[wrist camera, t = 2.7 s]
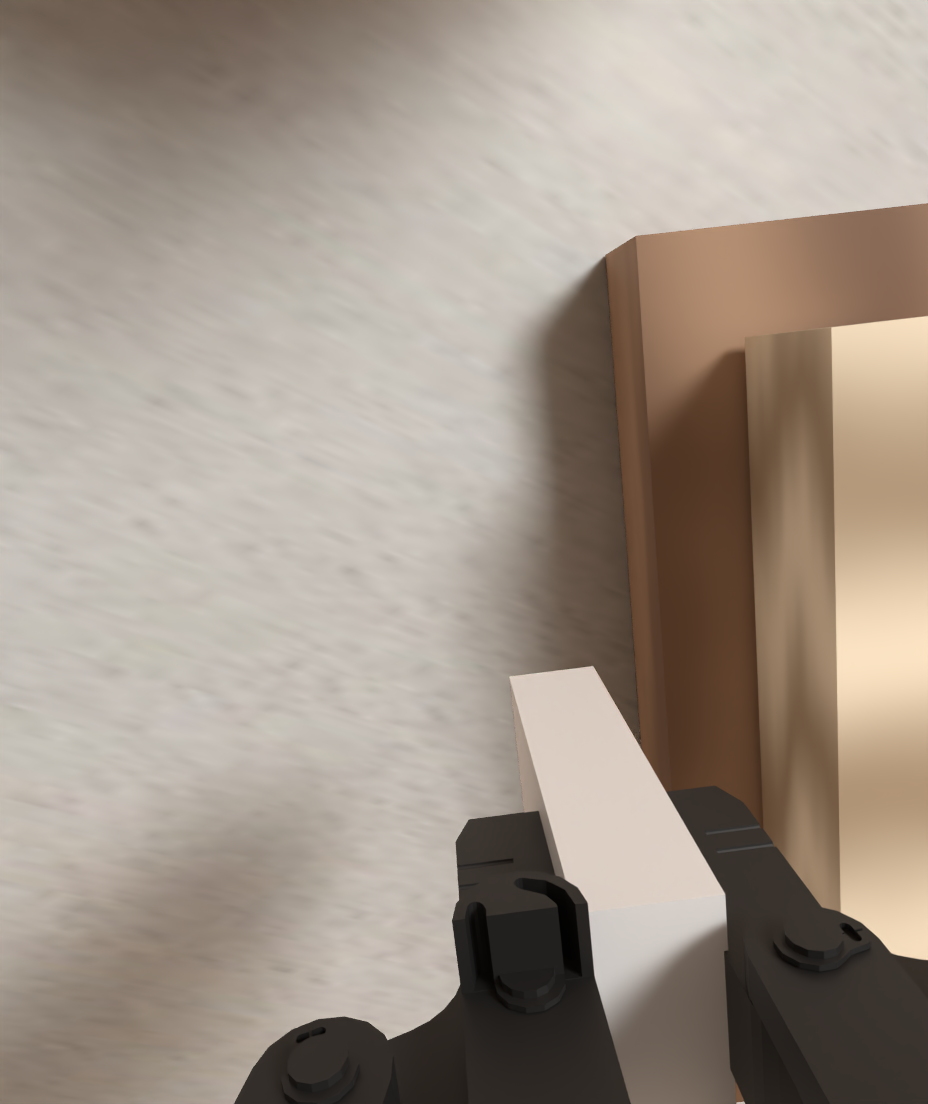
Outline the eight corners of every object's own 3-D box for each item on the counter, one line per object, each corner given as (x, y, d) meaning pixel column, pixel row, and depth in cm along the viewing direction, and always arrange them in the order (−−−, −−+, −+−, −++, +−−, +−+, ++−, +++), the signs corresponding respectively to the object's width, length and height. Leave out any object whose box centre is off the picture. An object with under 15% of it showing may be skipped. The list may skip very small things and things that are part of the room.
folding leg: (893, 1017, 23) (1012, 1178, 18) (771, 1036, 23) (860, 1201, 18) (893, 320, 19) (1047, 302, 14) (744, 337, 19) (851, 325, 14)
